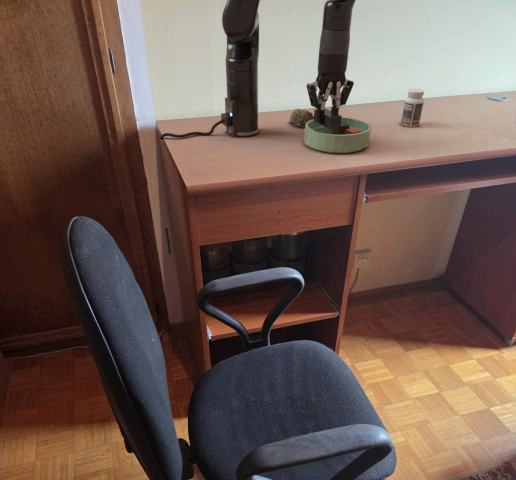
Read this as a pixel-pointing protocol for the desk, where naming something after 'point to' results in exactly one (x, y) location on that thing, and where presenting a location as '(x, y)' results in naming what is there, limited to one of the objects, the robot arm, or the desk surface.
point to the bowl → (337, 137)
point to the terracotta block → (352, 131)
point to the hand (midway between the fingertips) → (326, 122)
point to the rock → (300, 117)
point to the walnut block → (340, 129)
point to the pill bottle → (413, 108)
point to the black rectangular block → (330, 119)
